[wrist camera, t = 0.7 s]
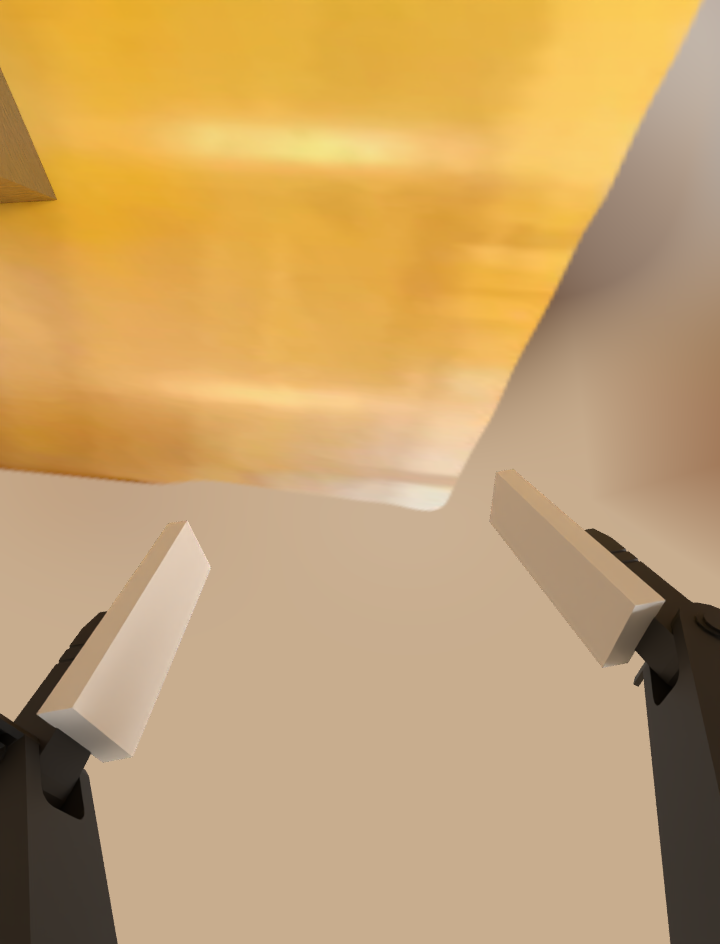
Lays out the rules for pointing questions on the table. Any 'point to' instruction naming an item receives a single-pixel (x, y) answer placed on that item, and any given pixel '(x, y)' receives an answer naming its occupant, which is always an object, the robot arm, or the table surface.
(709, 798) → the robot arm
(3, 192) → the dispenser
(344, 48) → the table surface
